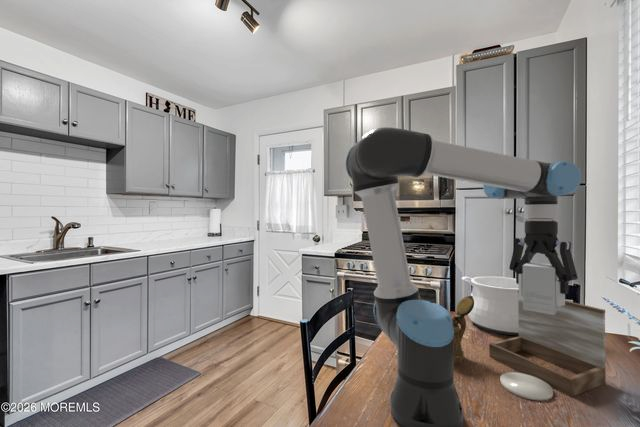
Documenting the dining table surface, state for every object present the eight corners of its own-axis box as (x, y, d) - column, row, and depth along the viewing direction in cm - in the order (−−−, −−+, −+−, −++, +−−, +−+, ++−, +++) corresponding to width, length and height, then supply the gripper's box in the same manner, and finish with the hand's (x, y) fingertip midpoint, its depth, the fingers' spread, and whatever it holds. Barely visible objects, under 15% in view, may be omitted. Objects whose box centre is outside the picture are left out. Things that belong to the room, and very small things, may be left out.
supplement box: (558, 309, 85) (559, 264, 85) (555, 316, 80) (555, 268, 80) (527, 303, 90) (527, 261, 90) (521, 309, 85) (522, 264, 85)
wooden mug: (483, 359, 91) (482, 299, 91) (443, 364, 88) (442, 302, 88) (463, 346, 100) (463, 292, 100) (426, 351, 97) (425, 294, 97)
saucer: (533, 405, 69) (533, 401, 69) (490, 380, 80) (490, 377, 80) (563, 393, 74) (563, 390, 74) (519, 372, 84) (518, 369, 84)
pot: (458, 329, 115) (457, 283, 115) (465, 310, 136) (465, 271, 136) (551, 345, 100) (551, 292, 100) (544, 322, 121) (543, 278, 121)
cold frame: (572, 396, 72) (571, 317, 72) (489, 356, 93) (488, 295, 93) (606, 383, 78) (605, 309, 78) (520, 348, 98) (520, 290, 98)
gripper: (596, 220, 76) (596, 310, 76) (512, 219, 97) (512, 289, 97) (578, 221, 73) (578, 314, 74) (495, 219, 94) (495, 292, 94)
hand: (540, 300), depth 85 cm, fingers closed on supplement box, 9 cm apart
